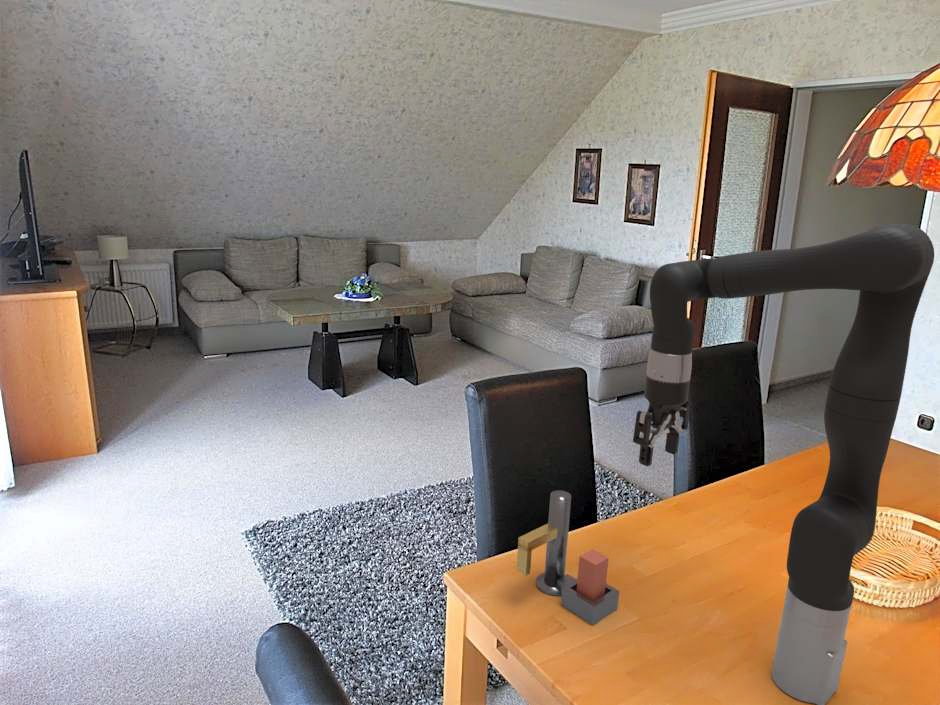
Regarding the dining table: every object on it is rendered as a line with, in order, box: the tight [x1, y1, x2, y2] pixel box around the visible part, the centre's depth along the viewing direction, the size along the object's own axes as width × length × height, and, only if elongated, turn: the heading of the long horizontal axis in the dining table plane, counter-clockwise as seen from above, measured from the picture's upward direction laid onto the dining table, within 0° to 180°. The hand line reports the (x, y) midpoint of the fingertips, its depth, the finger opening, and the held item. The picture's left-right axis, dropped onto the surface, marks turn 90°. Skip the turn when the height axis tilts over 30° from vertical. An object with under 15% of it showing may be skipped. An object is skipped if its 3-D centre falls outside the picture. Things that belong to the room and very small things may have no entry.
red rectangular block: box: [576, 548, 609, 602], centre depth 128 cm, size 4×4×11 cm
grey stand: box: [516, 489, 620, 626], centre depth 127 cm, size 16×14×20 cm
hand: (658, 458), depth 124 cm, fingers open, 8 cm apart
